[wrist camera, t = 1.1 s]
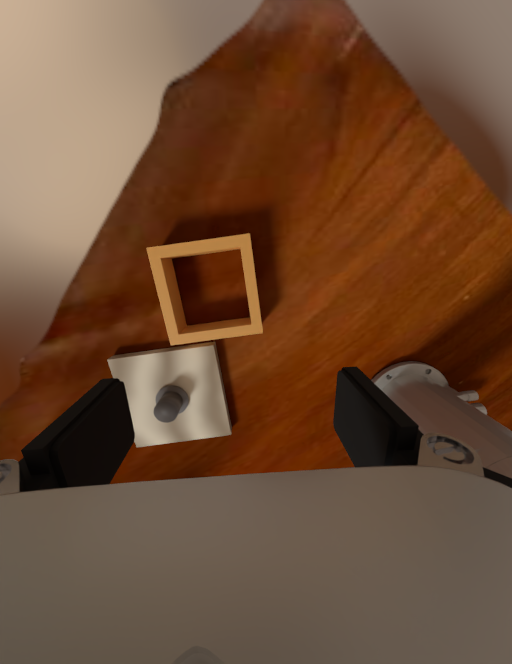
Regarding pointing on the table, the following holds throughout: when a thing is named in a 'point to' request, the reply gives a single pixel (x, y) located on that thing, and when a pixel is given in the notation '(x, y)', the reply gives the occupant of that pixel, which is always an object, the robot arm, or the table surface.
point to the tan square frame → (172, 300)
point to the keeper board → (180, 373)
